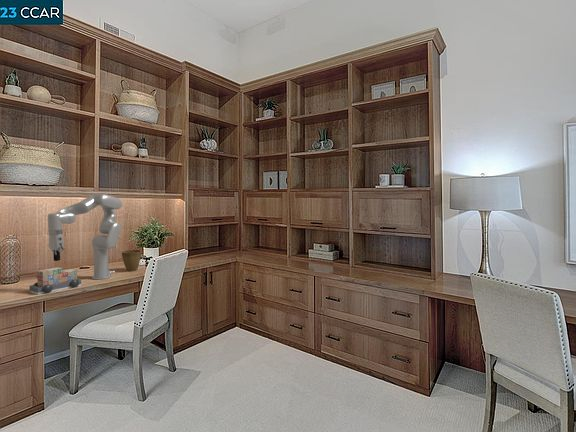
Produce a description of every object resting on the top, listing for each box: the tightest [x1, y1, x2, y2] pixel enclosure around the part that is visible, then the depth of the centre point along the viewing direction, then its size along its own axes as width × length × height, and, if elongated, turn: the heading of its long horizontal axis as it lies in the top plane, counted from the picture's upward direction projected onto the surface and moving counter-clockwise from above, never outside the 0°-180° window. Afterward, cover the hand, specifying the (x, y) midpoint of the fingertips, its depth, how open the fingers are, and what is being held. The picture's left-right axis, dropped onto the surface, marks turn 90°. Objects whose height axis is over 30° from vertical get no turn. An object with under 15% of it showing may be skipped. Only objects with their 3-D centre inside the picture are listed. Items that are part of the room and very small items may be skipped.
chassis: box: [29, 278, 82, 295], centre depth 220 cm, size 26×13×5 cm, turn 150°
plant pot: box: [121, 249, 142, 272], centre depth 278 cm, size 15×15×16 cm
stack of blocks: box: [36, 267, 78, 287], centre depth 221 cm, size 21×6×12 cm, turn 154°
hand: (57, 260), depth 220 cm, fingers closed
